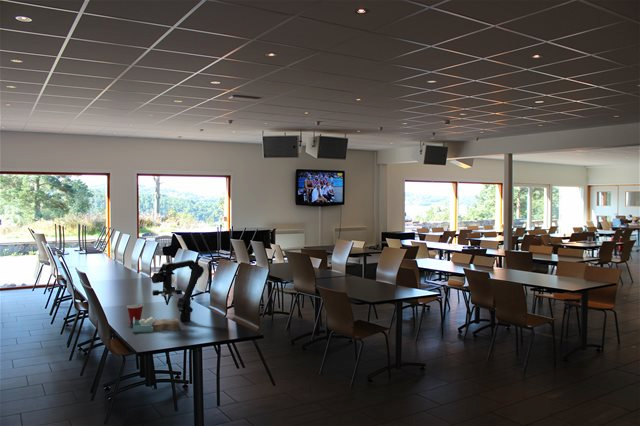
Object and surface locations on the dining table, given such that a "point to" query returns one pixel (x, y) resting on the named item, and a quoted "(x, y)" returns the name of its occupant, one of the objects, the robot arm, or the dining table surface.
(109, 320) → the dining table surface
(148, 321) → the tile
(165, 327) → the walnut plate
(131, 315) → the plastic cup
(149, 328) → the box
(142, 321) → the tile
